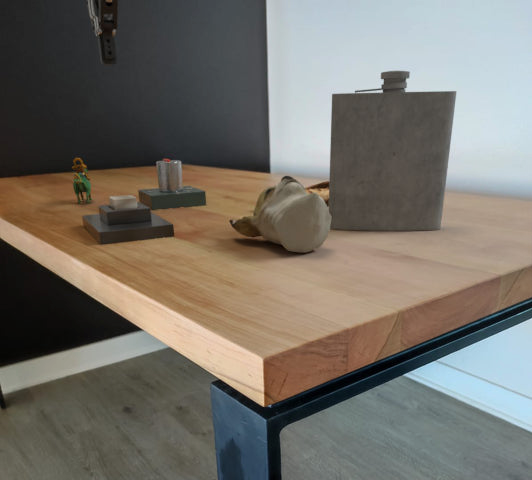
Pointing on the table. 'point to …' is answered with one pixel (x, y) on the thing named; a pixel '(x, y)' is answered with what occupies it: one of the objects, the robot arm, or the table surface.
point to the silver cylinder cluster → (169, 175)
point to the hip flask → (389, 157)
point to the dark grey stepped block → (126, 225)
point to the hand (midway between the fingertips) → (109, 64)
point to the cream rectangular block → (123, 202)
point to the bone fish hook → (320, 190)
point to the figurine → (81, 181)
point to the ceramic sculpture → (288, 217)
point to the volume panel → (172, 198)
